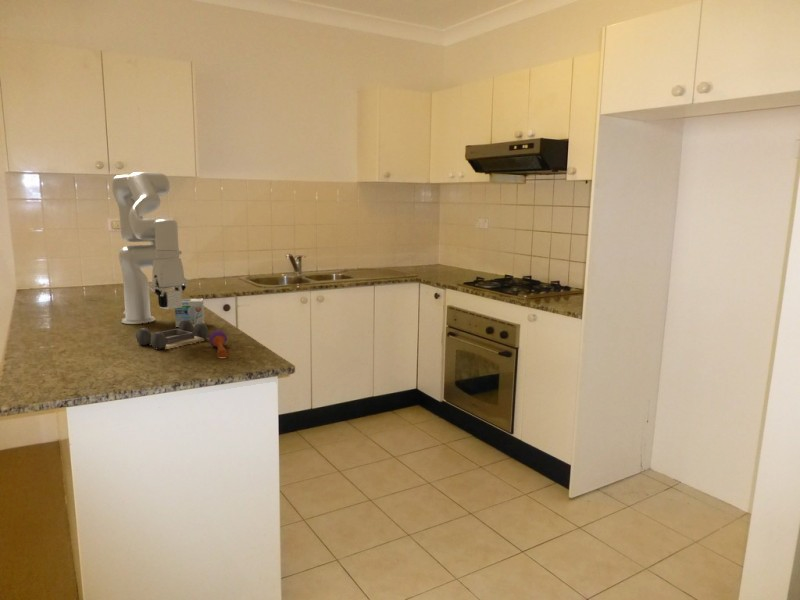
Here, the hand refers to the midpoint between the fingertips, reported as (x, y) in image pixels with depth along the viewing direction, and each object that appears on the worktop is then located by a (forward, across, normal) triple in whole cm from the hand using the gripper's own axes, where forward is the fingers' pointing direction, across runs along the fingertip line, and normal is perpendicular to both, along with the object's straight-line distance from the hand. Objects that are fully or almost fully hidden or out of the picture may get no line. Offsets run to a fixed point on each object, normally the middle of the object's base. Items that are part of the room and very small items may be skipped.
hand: (170, 305), depth 204 cm
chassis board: (+13, 0, 0) cm, 13 cm away
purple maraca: (+14, -2, +23) cm, 27 cm away
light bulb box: (+14, -20, -18) cm, 30 cm away
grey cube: (+1, 0, 0) cm, 1 cm away
